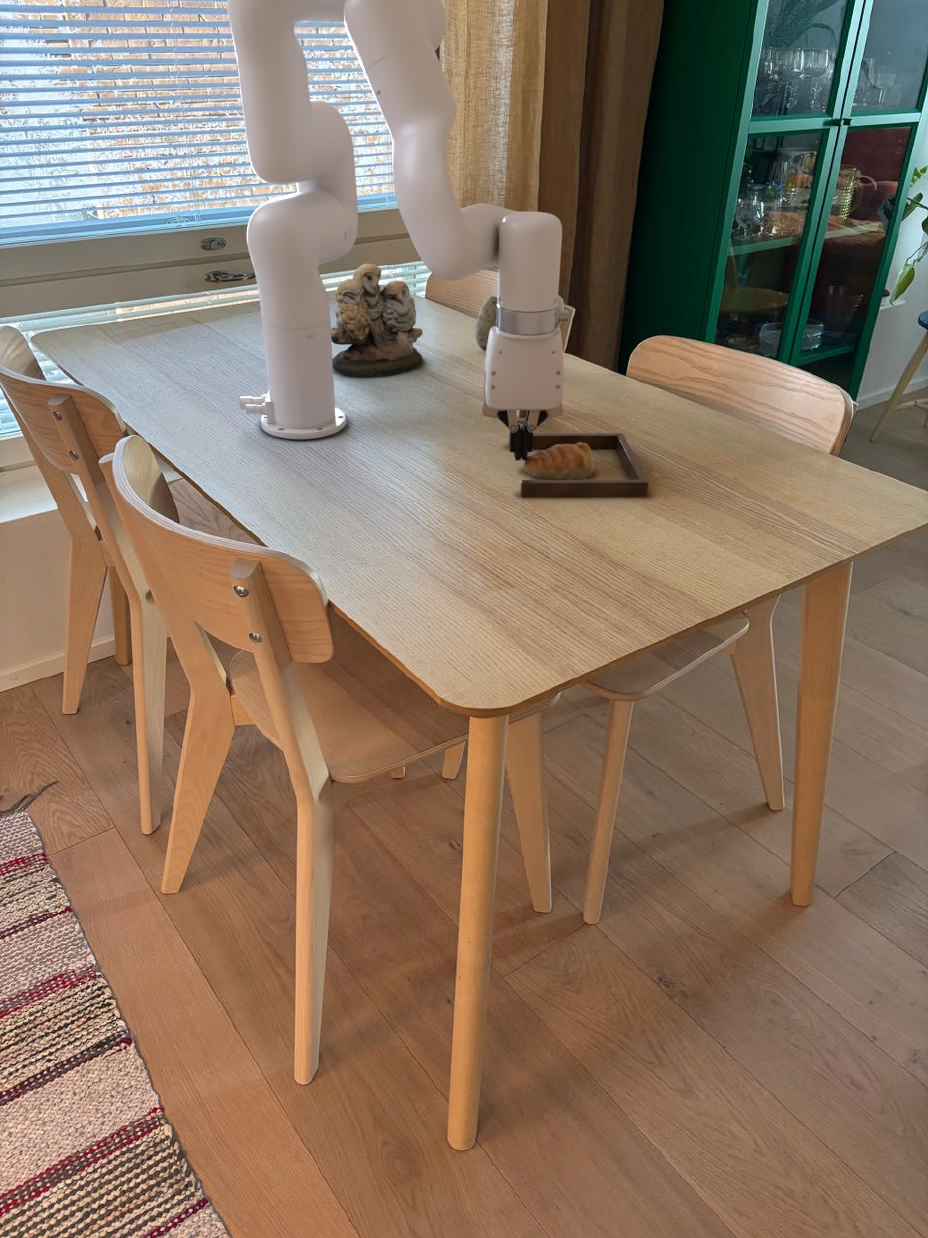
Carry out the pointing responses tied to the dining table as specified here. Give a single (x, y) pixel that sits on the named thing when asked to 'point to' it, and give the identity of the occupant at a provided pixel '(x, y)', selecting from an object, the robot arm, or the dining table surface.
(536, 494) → the corral
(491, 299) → the decorative egg
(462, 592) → the dining table surface
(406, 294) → the owl figurine
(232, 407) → the dining table surface
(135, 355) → the dining table surface
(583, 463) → the pastry
